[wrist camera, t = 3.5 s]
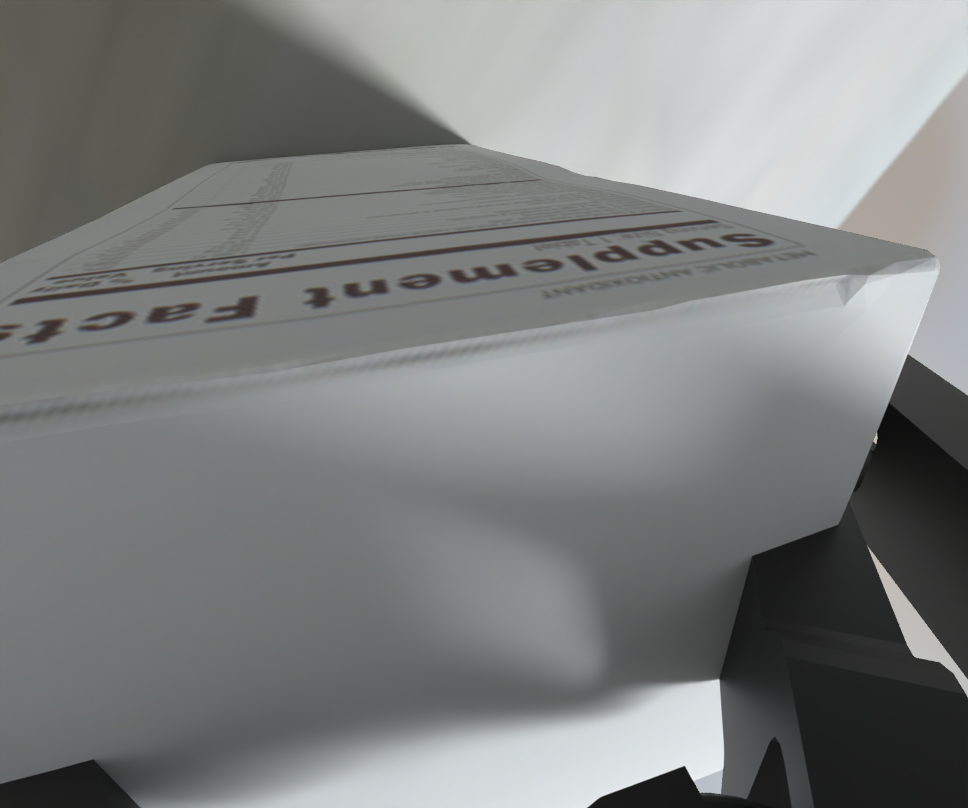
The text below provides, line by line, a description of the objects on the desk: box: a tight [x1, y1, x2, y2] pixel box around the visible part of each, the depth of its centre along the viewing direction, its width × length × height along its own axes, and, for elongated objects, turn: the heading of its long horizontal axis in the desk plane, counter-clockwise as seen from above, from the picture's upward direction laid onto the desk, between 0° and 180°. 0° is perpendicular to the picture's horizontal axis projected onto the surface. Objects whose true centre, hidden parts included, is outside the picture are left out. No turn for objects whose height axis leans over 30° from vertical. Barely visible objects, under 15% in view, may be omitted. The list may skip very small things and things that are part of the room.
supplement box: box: [0, 144, 940, 808], centre depth 13 cm, size 10×9×17 cm
